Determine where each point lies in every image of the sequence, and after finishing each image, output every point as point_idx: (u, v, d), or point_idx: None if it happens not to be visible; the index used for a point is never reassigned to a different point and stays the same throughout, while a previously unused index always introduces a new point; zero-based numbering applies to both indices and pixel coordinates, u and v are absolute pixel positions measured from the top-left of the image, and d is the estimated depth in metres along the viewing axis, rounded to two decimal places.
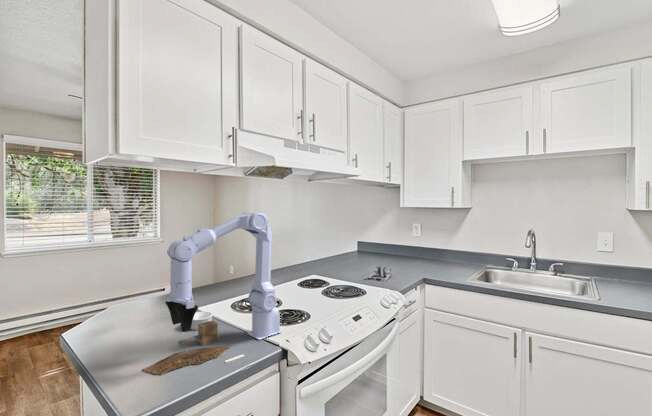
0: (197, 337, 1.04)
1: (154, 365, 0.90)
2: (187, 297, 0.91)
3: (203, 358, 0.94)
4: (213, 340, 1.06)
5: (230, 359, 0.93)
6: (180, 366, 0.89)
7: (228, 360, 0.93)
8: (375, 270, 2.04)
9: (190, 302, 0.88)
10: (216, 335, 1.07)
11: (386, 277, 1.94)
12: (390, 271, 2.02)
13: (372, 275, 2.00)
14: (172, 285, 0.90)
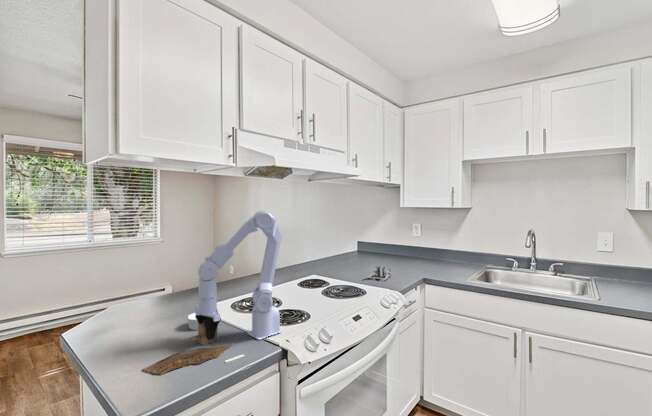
0: (197, 337, 1.04)
1: (154, 365, 0.90)
2: (213, 311, 1.05)
3: (203, 357, 0.94)
4: (213, 340, 1.06)
5: (230, 359, 0.93)
6: (180, 366, 0.89)
7: (228, 360, 0.93)
8: (374, 270, 2.04)
9: (217, 316, 1.01)
10: (216, 335, 1.07)
11: (385, 277, 1.94)
12: (389, 271, 2.02)
13: (371, 275, 2.00)
14: (200, 301, 1.04)
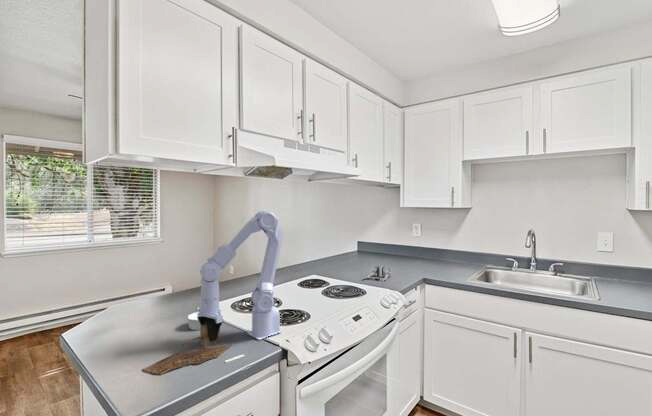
0: (199, 338, 1.02)
1: (154, 365, 0.90)
2: (216, 312, 1.04)
3: (203, 357, 0.94)
4: (215, 341, 1.05)
5: (230, 359, 0.93)
6: (180, 366, 0.89)
7: (228, 360, 0.93)
8: (374, 270, 2.04)
9: (219, 317, 1.00)
10: (218, 336, 1.05)
11: (385, 277, 1.94)
12: (389, 271, 2.02)
13: (371, 275, 2.00)
14: (203, 302, 1.03)
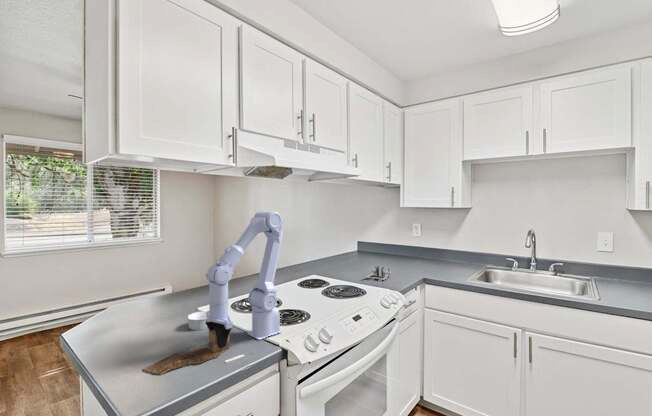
0: (208, 345, 0.98)
1: (154, 365, 0.90)
2: (225, 317, 0.99)
3: (203, 357, 0.94)
4: (224, 348, 1.00)
5: (230, 359, 0.93)
6: (180, 366, 0.89)
7: (228, 360, 0.93)
8: (373, 270, 2.04)
9: (229, 323, 0.95)
10: (228, 343, 1.01)
11: (384, 277, 1.94)
12: (388, 271, 2.02)
13: (370, 275, 2.00)
14: (211, 306, 0.98)
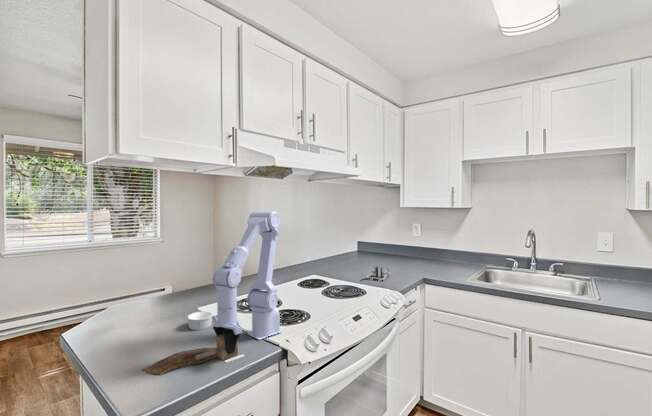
0: (216, 351, 0.94)
1: (154, 365, 0.90)
2: (233, 322, 0.95)
3: (203, 358, 0.94)
4: (233, 354, 0.96)
5: (230, 359, 0.93)
6: (180, 366, 0.89)
7: (228, 360, 0.93)
8: (372, 270, 2.04)
9: (238, 328, 0.91)
10: (236, 348, 0.96)
11: (384, 277, 1.94)
12: (387, 271, 2.02)
13: (369, 275, 2.00)
14: (219, 311, 0.94)
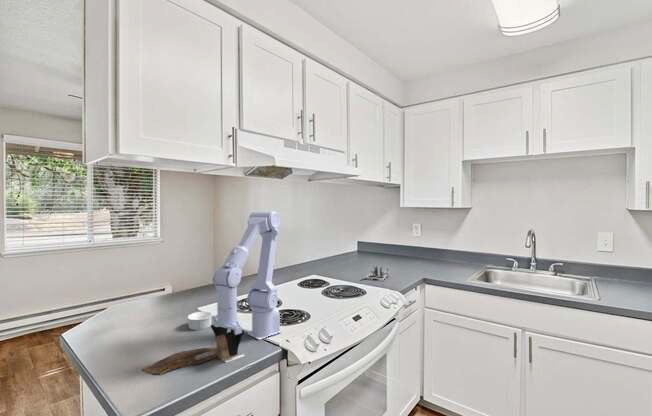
0: (216, 351, 0.93)
1: (154, 365, 0.90)
2: (233, 322, 0.95)
3: (203, 358, 0.94)
4: None
5: (230, 359, 0.93)
6: (180, 366, 0.89)
7: (228, 360, 0.93)
8: (372, 270, 2.04)
9: (238, 328, 0.91)
10: None
11: (383, 277, 1.93)
12: (387, 271, 2.02)
13: (369, 275, 2.00)
14: (219, 311, 0.94)
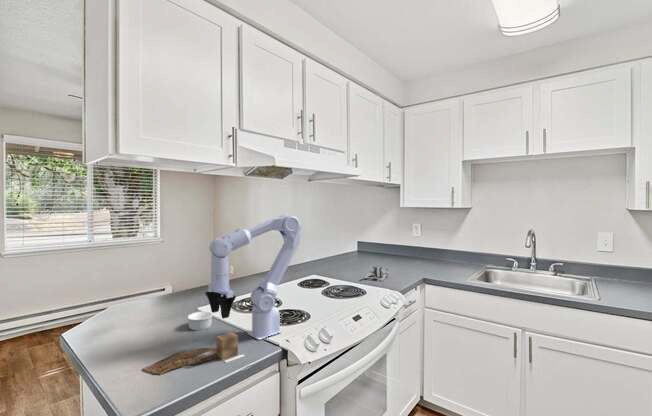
0: (216, 351, 0.93)
1: (154, 365, 0.90)
2: (226, 288, 1.04)
3: (203, 358, 0.94)
4: (233, 354, 0.96)
5: (230, 359, 0.93)
6: (180, 366, 0.89)
7: (228, 360, 0.93)
8: (371, 270, 2.04)
9: (230, 292, 1.00)
10: (236, 349, 0.96)
11: (383, 277, 1.93)
12: (386, 271, 2.02)
13: (368, 275, 2.00)
14: (213, 277, 1.03)
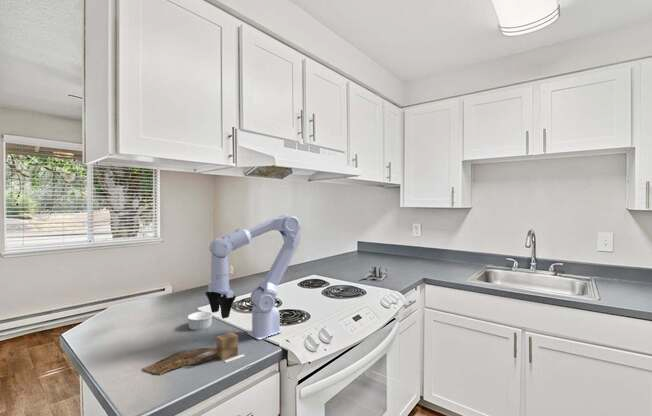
0: (216, 351, 0.93)
1: (154, 364, 0.90)
2: (226, 288, 1.04)
3: (203, 358, 0.94)
4: (233, 354, 0.96)
5: (230, 359, 0.93)
6: (179, 366, 0.89)
7: (228, 360, 0.93)
8: (371, 270, 2.03)
9: (230, 292, 1.00)
10: (236, 349, 0.96)
11: (382, 277, 1.93)
12: None
13: (368, 275, 2.00)
14: (213, 277, 1.03)
